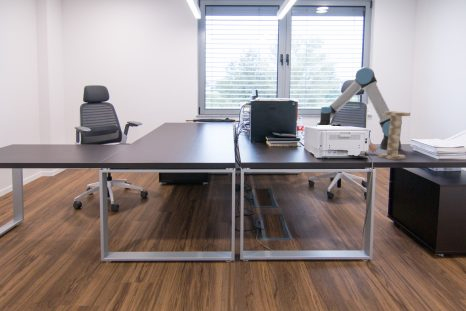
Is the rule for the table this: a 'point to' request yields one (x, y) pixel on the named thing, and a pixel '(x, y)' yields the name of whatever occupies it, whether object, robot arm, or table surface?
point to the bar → (372, 147)
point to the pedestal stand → (394, 135)
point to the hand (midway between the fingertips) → (360, 132)
